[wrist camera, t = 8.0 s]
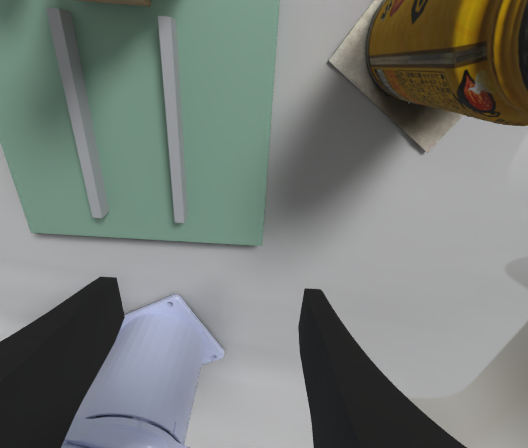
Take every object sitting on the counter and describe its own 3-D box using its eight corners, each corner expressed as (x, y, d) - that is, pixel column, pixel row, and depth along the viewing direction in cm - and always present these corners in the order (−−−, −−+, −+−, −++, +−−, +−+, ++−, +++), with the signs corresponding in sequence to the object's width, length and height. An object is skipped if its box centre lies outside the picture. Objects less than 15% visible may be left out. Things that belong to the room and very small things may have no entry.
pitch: (262, 237, 22) (261, 253, 20) (42, 224, 22) (20, 240, 20) (301, -321, 11) (308, -401, 9) (-143, -366, 11) (-231, -460, 9)
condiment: (432, -78, 14) (896, -475, 4) (531, 47, 17) (987, 17, 6) (327, 60, 17) (426, 54, 7) (424, 151, 20) (614, 256, 9)
